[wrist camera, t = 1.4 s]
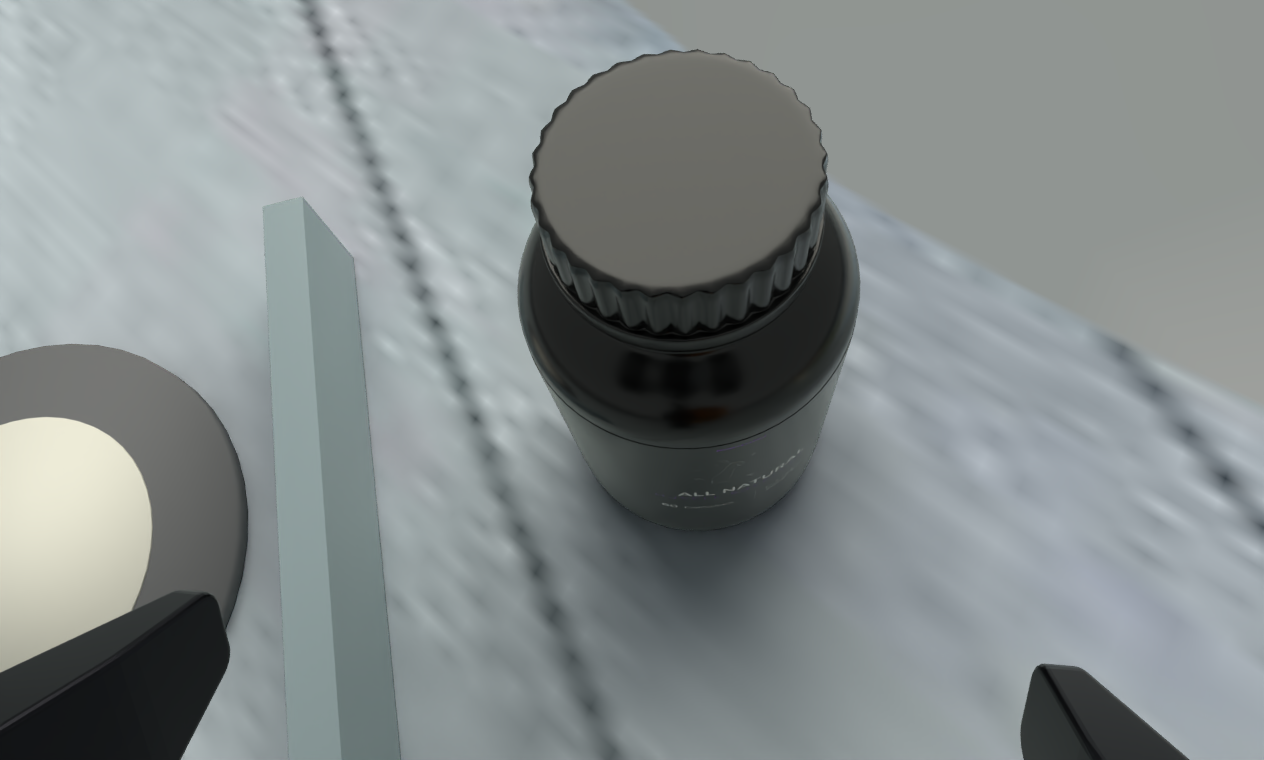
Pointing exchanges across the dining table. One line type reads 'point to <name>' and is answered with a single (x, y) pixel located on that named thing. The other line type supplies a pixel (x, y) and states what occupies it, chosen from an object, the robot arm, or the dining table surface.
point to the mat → (108, 494)
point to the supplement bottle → (688, 284)
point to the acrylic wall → (325, 499)
